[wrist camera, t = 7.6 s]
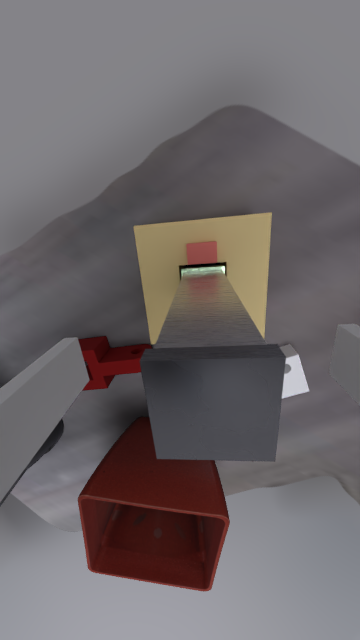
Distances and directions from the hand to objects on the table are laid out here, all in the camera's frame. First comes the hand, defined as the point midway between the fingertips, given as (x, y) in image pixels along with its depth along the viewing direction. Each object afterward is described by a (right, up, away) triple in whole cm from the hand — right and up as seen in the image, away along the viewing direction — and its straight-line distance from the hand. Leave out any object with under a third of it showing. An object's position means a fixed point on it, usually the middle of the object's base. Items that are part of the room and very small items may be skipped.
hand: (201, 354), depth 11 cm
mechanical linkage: (-13, -4, +28) cm, 31 cm away
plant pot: (-4, -23, +34) cm, 42 cm away
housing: (+2, +8, +21) cm, 23 cm away
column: (+2, +6, +15) cm, 17 cm away
